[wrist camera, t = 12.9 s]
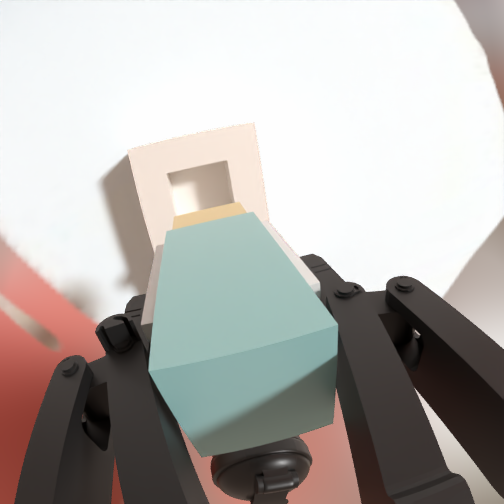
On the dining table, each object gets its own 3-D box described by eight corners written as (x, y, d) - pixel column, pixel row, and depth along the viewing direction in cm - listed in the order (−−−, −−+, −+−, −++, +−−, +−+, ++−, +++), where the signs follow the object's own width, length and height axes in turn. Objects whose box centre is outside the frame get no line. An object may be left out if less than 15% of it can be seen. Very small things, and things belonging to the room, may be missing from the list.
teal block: (169, 214, 17) (148, 371, 6) (242, 197, 17) (337, 324, 6) (187, 278, 18) (201, 457, 8) (253, 263, 19) (333, 423, 8)
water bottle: (195, 377, 42) (214, 519, 21) (198, 324, 38) (221, 489, 18) (260, 376, 45) (305, 506, 24) (272, 324, 41) (338, 469, 20)
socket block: (134, 147, 28) (127, 150, 25) (246, 123, 30) (254, 122, 26) (170, 281, 35) (169, 298, 32) (267, 258, 37) (276, 273, 33)
